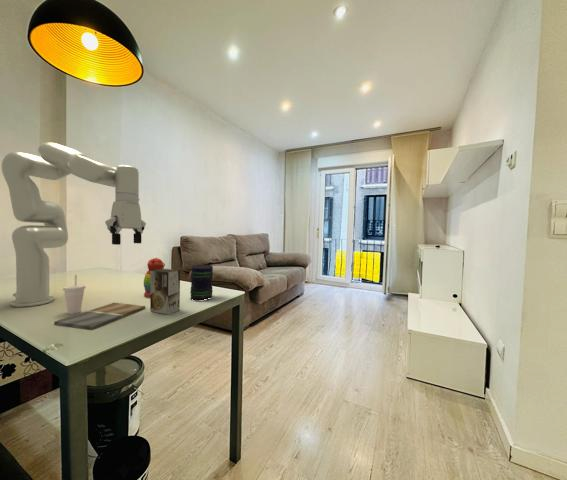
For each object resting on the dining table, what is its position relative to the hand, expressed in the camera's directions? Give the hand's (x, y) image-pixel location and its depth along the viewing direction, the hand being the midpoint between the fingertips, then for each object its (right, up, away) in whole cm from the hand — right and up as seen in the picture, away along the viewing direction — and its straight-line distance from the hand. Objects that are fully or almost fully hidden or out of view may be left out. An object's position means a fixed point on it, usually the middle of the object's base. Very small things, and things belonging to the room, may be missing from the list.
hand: (127, 243), depth 95 cm
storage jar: (+22, -26, +21) cm, 40 cm away
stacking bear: (-1, -25, +23) cm, 34 cm away
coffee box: (+14, -27, +2) cm, 30 cm away
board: (-5, -26, -6) cm, 27 cm away
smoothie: (-18, -26, -3) cm, 31 cm away
